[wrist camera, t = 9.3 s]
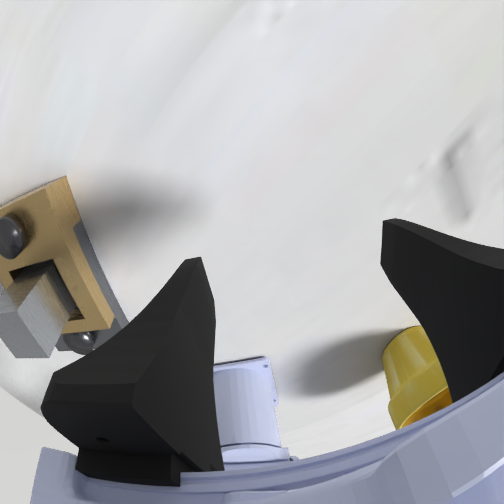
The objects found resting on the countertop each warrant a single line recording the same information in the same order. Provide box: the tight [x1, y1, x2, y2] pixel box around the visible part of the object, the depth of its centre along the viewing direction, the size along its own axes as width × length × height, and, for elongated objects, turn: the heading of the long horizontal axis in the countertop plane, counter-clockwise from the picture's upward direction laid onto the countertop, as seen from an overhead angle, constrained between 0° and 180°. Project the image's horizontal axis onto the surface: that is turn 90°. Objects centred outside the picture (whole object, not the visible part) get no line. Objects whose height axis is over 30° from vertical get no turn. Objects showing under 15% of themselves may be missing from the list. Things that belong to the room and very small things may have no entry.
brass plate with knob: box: [0, 176, 129, 355], centre depth 19 cm, size 15×9×4 cm, turn 10°
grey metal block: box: [0, 259, 77, 358], centre depth 17 cm, size 4×4×8 cm
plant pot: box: [382, 326, 453, 430], centre depth 25 cm, size 10×10×10 cm
